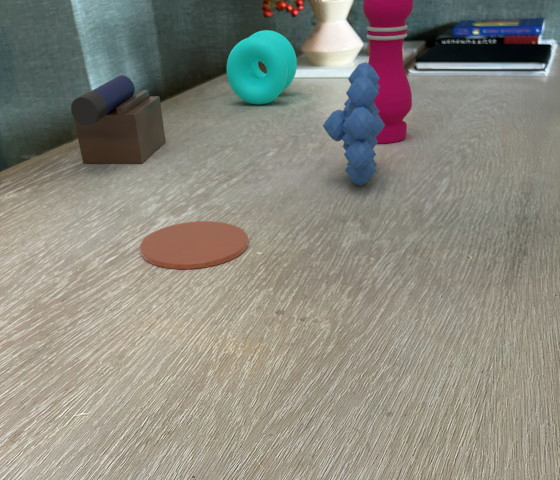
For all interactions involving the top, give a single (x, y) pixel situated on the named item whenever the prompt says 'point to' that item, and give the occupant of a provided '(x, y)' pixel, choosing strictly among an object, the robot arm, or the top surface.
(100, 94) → the marker
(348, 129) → the grapes
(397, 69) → the pepper mill
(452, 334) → the top surface
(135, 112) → the block
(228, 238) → the coaster
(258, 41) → the donuts
